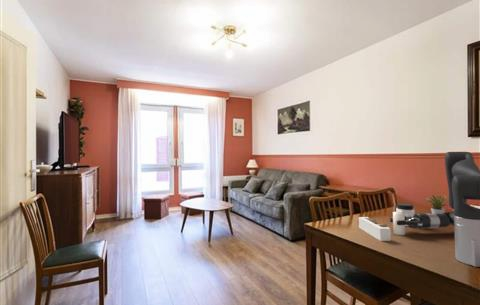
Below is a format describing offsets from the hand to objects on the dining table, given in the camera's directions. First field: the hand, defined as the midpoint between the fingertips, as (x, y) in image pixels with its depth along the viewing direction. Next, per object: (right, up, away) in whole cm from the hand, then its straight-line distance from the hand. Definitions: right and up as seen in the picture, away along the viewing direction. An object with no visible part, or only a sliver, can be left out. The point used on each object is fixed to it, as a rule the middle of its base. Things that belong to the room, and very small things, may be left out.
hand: (394, 221), depth 128 cm
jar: (+17, -7, +16) cm, 24 cm away
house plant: (+47, -6, +27) cm, 55 cm away
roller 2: (-2, -6, +11) cm, 13 cm away
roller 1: (-2, -7, +21) cm, 23 cm away
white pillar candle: (+3, -6, 0) cm, 7 cm away
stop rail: (-10, -7, +1) cm, 12 cm away
